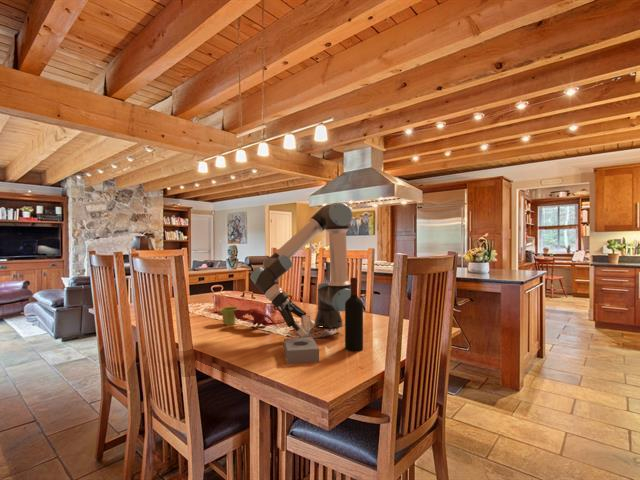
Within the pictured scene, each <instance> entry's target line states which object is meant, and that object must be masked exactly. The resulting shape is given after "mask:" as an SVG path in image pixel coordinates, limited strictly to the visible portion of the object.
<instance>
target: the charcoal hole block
mask: <svg viewBox="0 0 640 480" xmlns="http://www.w3.org/2000/svg"><path fill="white" fill-rule="evenodd" d="M283 353H284V356H285V361H286V364H287V365H292V364H293V365H295V364H308V363H309V364H310V363H311V364H312V363H320V347H319V346H318V344H317V343H316V341H315V339H314V338H313V337H312V336H310V337H305V338H301V337H292V338H291V337H290V338H288V337H287V338H283Z"/></svg>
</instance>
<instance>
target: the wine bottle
mask: <svg viewBox="0 0 640 480" xmlns="http://www.w3.org/2000/svg"><path fill="white" fill-rule="evenodd" d="M350 283H351V296H350V298H349V299H348V300H347V301H346V302H345V311H344V323H345V324H344V349H345V350H346V351H349V352H353V353H354V352H361V351H363V350H364V303H363V301H362V300H361V298H359V297H358V277H350Z"/></svg>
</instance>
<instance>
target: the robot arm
mask: <svg viewBox="0 0 640 480" xmlns="http://www.w3.org/2000/svg"><path fill="white" fill-rule="evenodd" d="M352 219H353V211H352V209H351V207H350V206H349V205H348V204H346V203H344V202H333V203H329V204H326V205H324V206H322V207H321V208H320V209H319V210H318V211H317V212H315V214H313V215H312V216H311V217H310V218H309V220H308V221H309V222H307V224H305V225H304V226H303V227H301V228H300V230H299V231H297V232H296V233H295V234H294V235H293V236H292V237H291V238H289V240H287V241H286V242H285V243H284V244H283V245H282V246H281V247H280V248H278V249H277V250H276V251H275V252H274V253H273V254H272V255H270V256H269V257H266V258H264V259H263V263H262V265H263V267H262V266H259V267H257V268H256V269H255V270H254V271H253V272H252V273H251V274H250V280H251V281H252V282H253V284H254V285H255V286H256V287H257V288H258V289H259V290H260V292H261V293H263V295H264V296H265V298H266V299H267V300H269V301H270V302H271V304H272V305H273V306H274V308H276V309H277V311H278V312H279V314H280V315H281V317H282V319H283V320H284V322H285V324H286V325H287V327H289V328H292V329H293V330H294V331H295V332H296V333H297V334H298V336H299V337H300V338H301V337H303V336H304V335H305V334H306V332H305V331H304V330H303V329H302V328H301V324H299V323H298V322H297V321H295V319H294V317H293V314H294V315H295V316H297V317H298V318H300V319H301V316H302V315H307V312H306V311H304V309H302V308H301V307H299V306H298V305H297V304H296V303H294V302H293V300H291V299H290V300H288V299H289V296H288V294H287V293H286V292H285V291H283V288H282V287H281V286H280V285H279V284H278V283H277V282H276V281H277V280H279V278H281V276H283V275H284V274H285V273H286V272H287V271H289V270H290V269H291V268H292V267H293V262H292V260H291V259H292V258H293V257H294V256H295V255H296V254H297V253H298V252H299V251H300V250H301V249H302V248H303V247H305V245H307V244H308V243H309V242H310V241H312V239H313V238H315V237H316V236H317V235H318V234H319V233H323V232H324V231H326V232H327V233H328V241H329V242H328V243H329V266H330V267H329V268H330V271H329V272H330V281H329V282H320V283H318V285H317V313H316V316H315V318H314V323H313V322H312V321H311V320H310V331H311V330H312V329H313V328H314V327H317V326H323V327H336V328H335V329H337V328H341V327H342V326H343V319H342V318H343V317H342V316H341V312H342V313H343V312H344V313H345V302H346V301H347V300H348V299H349V298H350V296H351V281H349V277H348V252H347V251H348V250H347V232H349V229H350V223H351V222H352ZM315 325H316V326H315Z"/></svg>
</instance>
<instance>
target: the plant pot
mask: <svg viewBox="0 0 640 480" xmlns="http://www.w3.org/2000/svg"><path fill="white" fill-rule="evenodd" d="M219 310H220V311H221V315H222V323H223V326H231V325H232V326H233V325H235V324H236V320H237V318H236V317H235V314H234V312H235V311H236V310H239V307H237V306H225V307H221V308H220V309H219Z"/></svg>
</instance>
